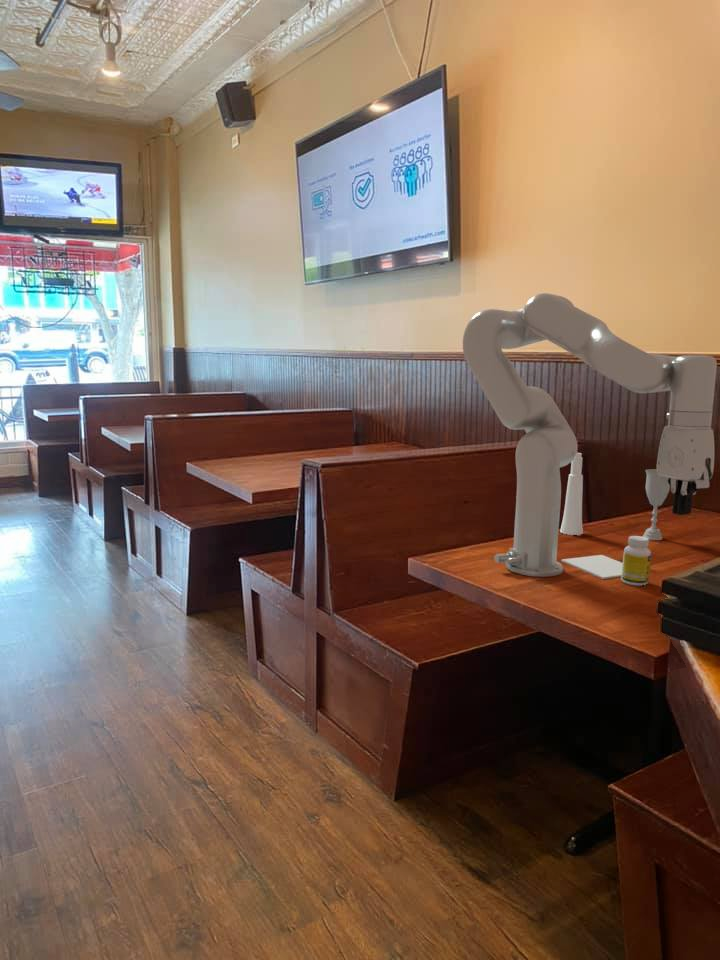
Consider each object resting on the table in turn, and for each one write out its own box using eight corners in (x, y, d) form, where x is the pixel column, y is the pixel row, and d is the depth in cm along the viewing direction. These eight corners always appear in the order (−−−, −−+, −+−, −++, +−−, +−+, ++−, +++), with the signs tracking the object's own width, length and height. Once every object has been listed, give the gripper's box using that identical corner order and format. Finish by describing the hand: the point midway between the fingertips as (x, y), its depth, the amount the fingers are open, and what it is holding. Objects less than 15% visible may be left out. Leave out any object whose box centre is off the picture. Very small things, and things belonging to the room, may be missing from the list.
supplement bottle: (650, 587, 146) (654, 542, 144) (623, 585, 147) (627, 540, 145) (645, 579, 151) (649, 535, 150) (619, 577, 152) (622, 534, 151)
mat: (602, 579, 151) (602, 577, 151) (561, 561, 164) (561, 559, 164) (645, 573, 156) (645, 571, 156) (601, 556, 168) (601, 554, 168)
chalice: (669, 541, 183) (676, 474, 180) (642, 540, 184) (648, 473, 181) (662, 534, 190) (668, 469, 187) (636, 533, 191) (642, 468, 188)
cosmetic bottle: (587, 535, 188) (593, 454, 184) (567, 536, 187) (573, 454, 183) (575, 529, 194) (581, 451, 190) (555, 530, 193) (561, 451, 189)
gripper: (645, 417, 139) (638, 507, 142) (707, 424, 126) (698, 523, 129) (673, 417, 142) (666, 505, 145) (737, 423, 129) (728, 520, 132)
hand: (681, 513), depth 137 cm, fingers closed
